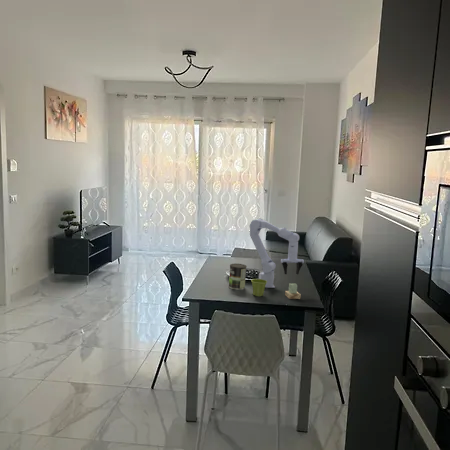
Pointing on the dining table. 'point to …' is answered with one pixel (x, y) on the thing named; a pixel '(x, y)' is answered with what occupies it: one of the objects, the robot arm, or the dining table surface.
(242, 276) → the coffee can
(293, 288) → the sage cube
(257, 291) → the plant pot
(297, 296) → the oak block
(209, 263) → the dining table surface
